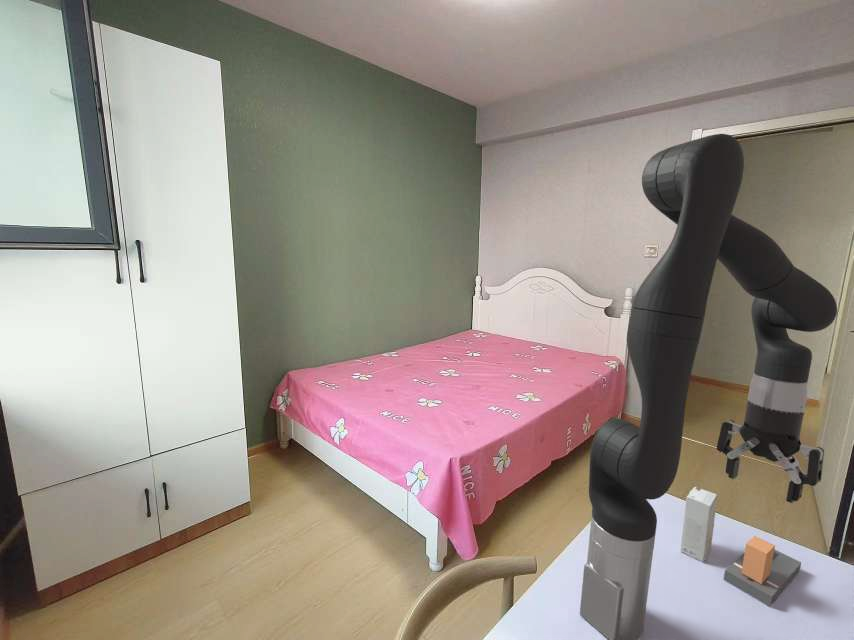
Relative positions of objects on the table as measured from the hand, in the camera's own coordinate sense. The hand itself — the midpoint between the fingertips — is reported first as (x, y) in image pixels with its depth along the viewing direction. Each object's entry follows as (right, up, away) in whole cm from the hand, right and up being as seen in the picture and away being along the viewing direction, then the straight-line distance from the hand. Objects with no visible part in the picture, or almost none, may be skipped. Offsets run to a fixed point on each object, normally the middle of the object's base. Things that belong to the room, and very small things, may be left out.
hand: (760, 488), depth 73 cm
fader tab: (+1, -16, +2) cm, 16 cm away
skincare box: (-5, -17, +11) cm, 21 cm away
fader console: (+4, -18, +4) cm, 19 cm away
